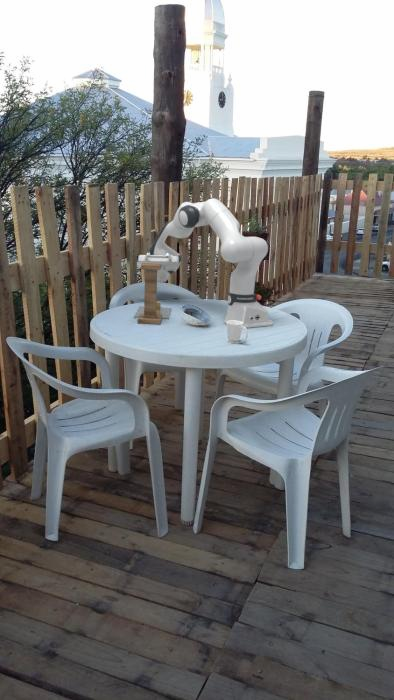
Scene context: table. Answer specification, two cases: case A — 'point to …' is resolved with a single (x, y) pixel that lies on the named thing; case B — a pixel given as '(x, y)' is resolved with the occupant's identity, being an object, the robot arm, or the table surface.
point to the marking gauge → (158, 308)
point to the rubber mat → (163, 311)
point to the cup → (235, 331)
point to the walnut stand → (150, 294)
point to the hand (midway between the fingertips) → (157, 254)
